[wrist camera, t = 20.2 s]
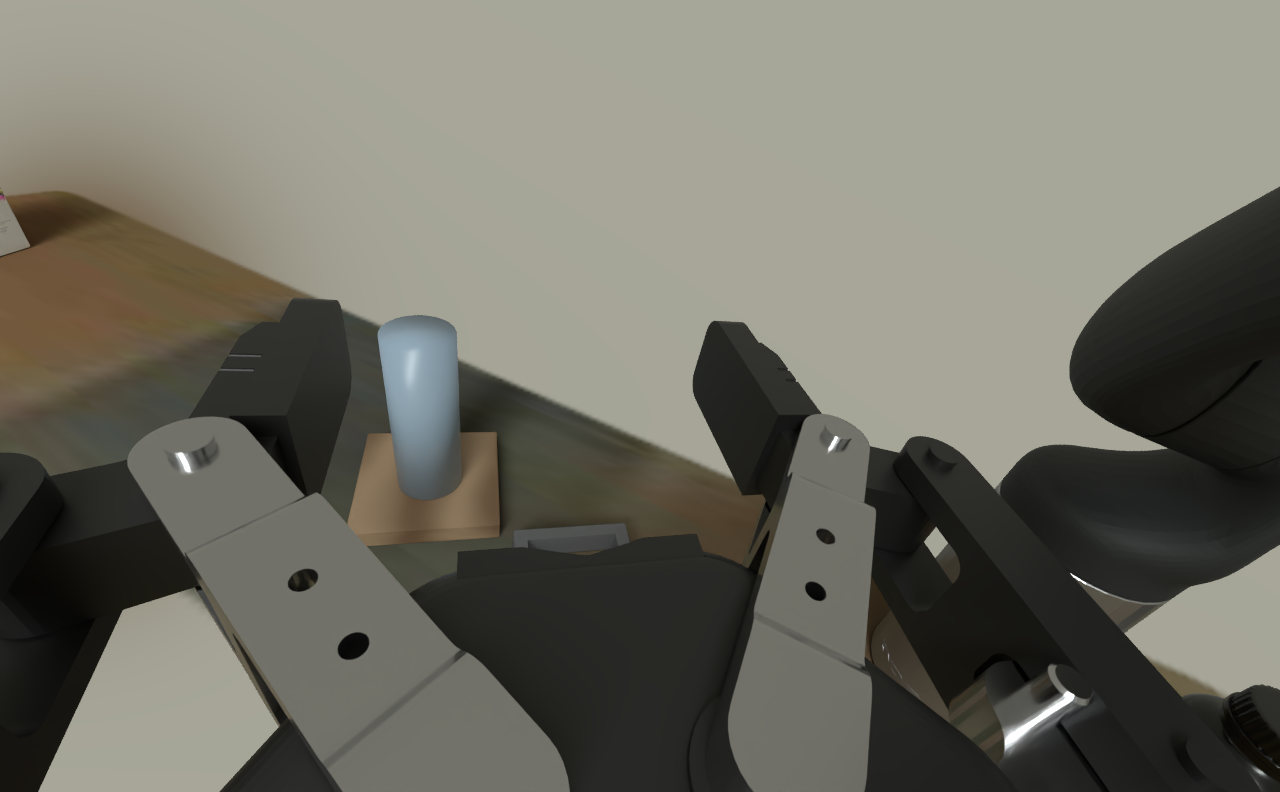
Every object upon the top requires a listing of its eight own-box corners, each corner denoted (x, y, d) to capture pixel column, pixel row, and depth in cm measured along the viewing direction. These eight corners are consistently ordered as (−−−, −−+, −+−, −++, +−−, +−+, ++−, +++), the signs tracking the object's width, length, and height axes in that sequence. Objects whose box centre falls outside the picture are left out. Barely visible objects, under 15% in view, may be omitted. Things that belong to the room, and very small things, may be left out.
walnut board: (496, 443, 51) (496, 432, 51) (499, 536, 43) (499, 525, 42) (370, 446, 48) (368, 433, 47) (347, 547, 40) (344, 534, 39)
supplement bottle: (1149, 876, 33) (1337, 814, 26) (1061, 751, 38) (1197, 670, 31) (1224, 854, 35) (1419, 791, 27) (1130, 737, 40) (1274, 659, 33)
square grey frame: (620, 538, 45) (624, 523, 44) (645, 640, 39) (651, 625, 37) (512, 546, 43) (513, 530, 42) (518, 657, 36) (520, 642, 35)
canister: (463, 456, 47) (458, 317, 39) (460, 498, 43) (454, 354, 35) (402, 457, 46) (384, 313, 38) (393, 501, 42) (371, 351, 34)
